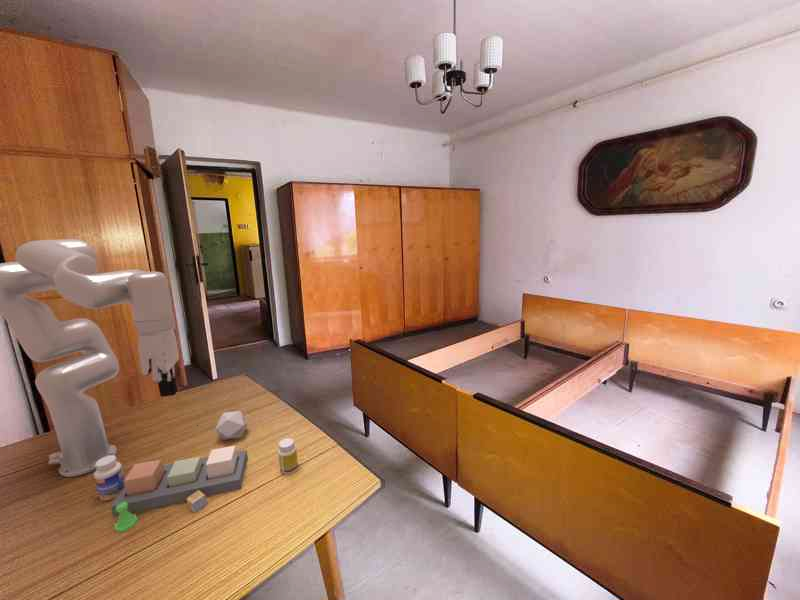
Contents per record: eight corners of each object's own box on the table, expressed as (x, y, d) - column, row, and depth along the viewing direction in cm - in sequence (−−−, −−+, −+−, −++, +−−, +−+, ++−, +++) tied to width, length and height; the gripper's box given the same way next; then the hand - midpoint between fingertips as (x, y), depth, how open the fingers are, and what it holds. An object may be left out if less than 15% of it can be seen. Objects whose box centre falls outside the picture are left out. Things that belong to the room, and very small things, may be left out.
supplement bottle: (301, 465, 94) (298, 439, 92) (289, 476, 90) (286, 450, 88) (288, 460, 96) (286, 435, 94) (276, 471, 92) (273, 445, 90)
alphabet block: (194, 513, 79) (192, 503, 78) (188, 508, 81) (186, 497, 80) (207, 504, 82) (205, 494, 81) (200, 499, 83) (199, 489, 83)
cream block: (208, 480, 86) (205, 464, 85) (214, 465, 92) (211, 449, 91) (233, 475, 88) (231, 459, 87) (237, 460, 94) (235, 445, 92)
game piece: (111, 535, 74) (105, 514, 72) (118, 520, 78) (112, 499, 76) (134, 528, 76) (129, 507, 74) (140, 513, 79) (135, 493, 78)
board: (113, 517, 79) (110, 506, 78) (136, 480, 90) (134, 471, 89) (240, 488, 86) (239, 479, 86) (247, 458, 97) (246, 449, 97)
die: (232, 450, 102) (249, 419, 104) (205, 437, 101) (223, 407, 103) (240, 442, 111) (256, 414, 113) (215, 430, 110) (232, 402, 112)
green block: (170, 493, 84) (166, 477, 83) (178, 476, 90) (175, 461, 89) (196, 488, 86) (193, 471, 85) (203, 471, 91) (200, 456, 90)
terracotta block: (127, 497, 81) (123, 481, 80) (138, 480, 87) (135, 464, 86) (155, 492, 83) (152, 475, 82) (165, 475, 89) (161, 459, 87)
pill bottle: (96, 504, 82) (87, 471, 80) (103, 489, 87) (94, 457, 85) (124, 495, 85) (115, 463, 82) (129, 481, 89) (121, 450, 87)
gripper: (150, 317, 83) (163, 382, 88) (120, 336, 69) (137, 413, 74) (184, 314, 85) (195, 378, 90) (161, 332, 72) (175, 407, 76)
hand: (169, 394), depth 82 cm, fingers closed
